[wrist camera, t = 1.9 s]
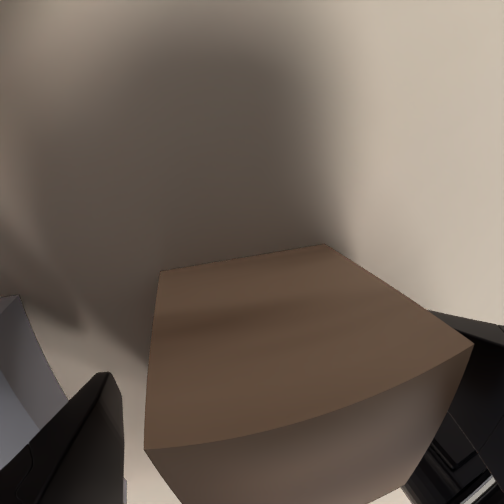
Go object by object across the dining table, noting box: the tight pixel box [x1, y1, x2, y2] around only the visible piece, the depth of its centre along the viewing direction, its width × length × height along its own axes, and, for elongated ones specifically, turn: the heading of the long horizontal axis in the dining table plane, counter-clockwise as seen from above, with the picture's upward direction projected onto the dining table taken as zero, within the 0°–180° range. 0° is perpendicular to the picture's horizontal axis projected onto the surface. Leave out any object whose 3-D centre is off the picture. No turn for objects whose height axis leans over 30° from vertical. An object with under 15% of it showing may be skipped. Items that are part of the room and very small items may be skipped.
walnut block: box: [144, 244, 474, 504], centre depth 7 cm, size 5×5×6 cm
